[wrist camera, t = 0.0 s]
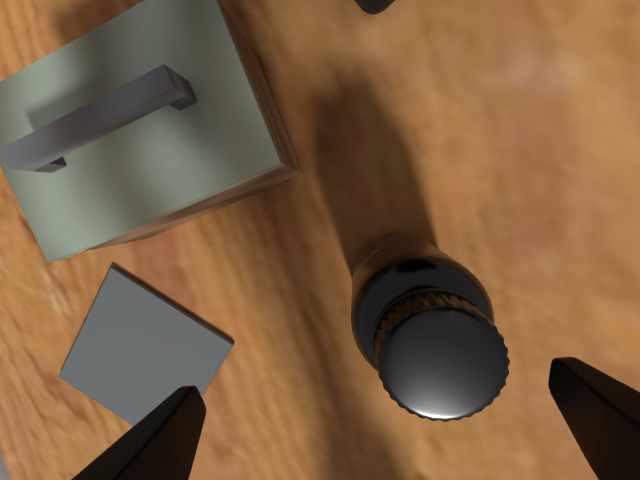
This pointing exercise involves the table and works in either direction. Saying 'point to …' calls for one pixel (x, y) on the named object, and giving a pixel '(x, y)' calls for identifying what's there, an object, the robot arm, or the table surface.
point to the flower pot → (373, 5)
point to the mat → (140, 349)
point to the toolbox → (140, 128)
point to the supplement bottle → (426, 328)
